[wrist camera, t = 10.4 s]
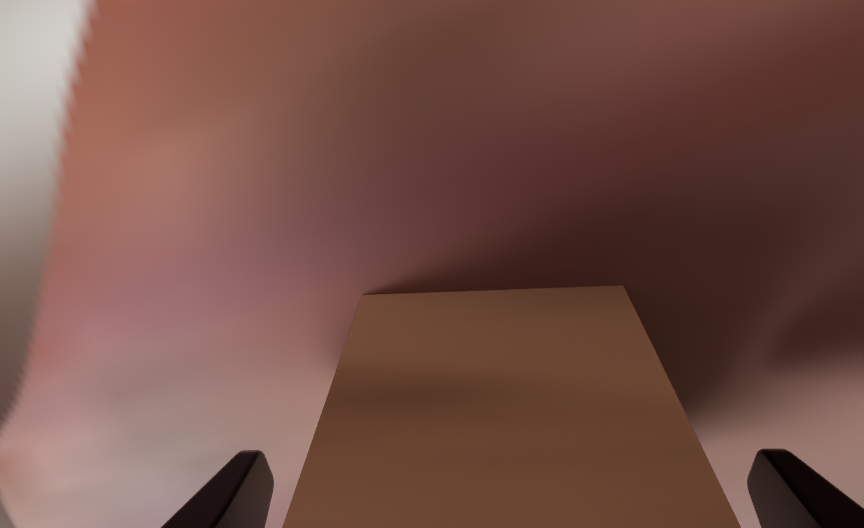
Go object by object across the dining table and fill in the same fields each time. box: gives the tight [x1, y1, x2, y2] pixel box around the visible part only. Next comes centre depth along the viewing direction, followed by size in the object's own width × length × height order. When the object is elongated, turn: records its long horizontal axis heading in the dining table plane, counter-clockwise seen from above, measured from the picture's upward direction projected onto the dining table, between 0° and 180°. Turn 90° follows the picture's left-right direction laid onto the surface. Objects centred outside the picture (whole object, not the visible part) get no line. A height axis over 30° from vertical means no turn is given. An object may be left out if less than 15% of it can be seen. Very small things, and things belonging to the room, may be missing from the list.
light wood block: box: [282, 285, 741, 528], centre depth 9 cm, size 5×5×5 cm
